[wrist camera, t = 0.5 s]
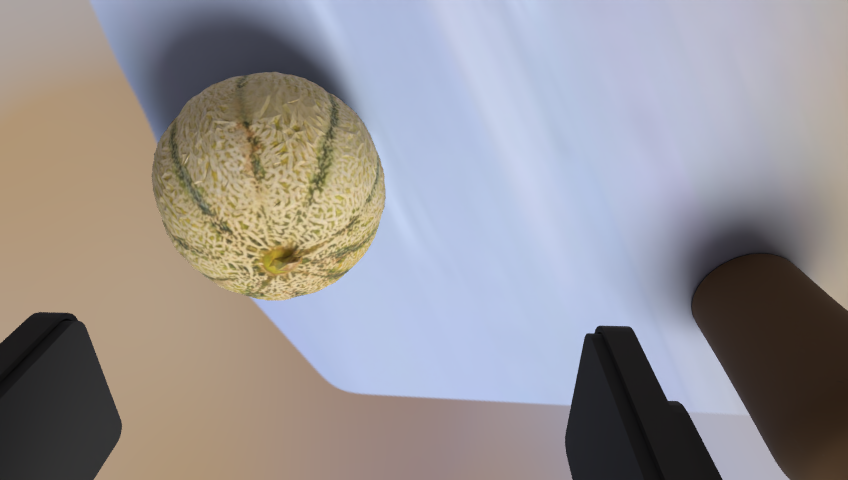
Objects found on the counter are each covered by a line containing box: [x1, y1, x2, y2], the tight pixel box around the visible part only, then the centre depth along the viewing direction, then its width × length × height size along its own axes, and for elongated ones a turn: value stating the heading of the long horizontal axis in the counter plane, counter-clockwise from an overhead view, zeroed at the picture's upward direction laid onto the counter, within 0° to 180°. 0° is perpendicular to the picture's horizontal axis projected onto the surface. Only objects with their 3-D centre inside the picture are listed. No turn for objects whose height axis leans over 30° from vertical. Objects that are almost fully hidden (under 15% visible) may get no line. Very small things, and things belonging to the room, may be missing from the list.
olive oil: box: [692, 254, 848, 480], centre depth 38 cm, size 11×11×25 cm
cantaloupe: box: [152, 72, 385, 300], centre depth 36 cm, size 15×15×15 cm
